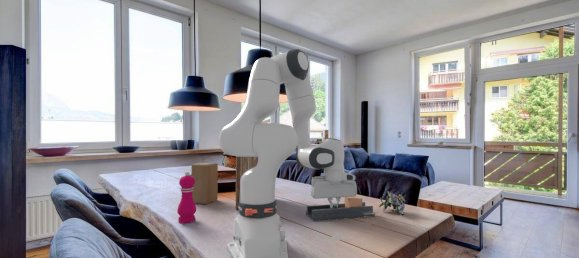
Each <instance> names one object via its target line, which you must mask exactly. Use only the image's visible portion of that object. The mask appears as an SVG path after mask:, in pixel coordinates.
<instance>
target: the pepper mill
mask: <svg viewBox="0 0 579 258" xmlns="http://www.w3.org/2000/svg"><path fill="white" fill-rule="evenodd" d="M178 183H179V186H180V192H181V198H180V202H179V204H178V206H177V215H179V217H178V223H179V224H190V223H194V222H195V221H196V216H195V214H196V213H197V206H196V203H194V200H193V196H192V192H193V191H194V190H193V188H194V187H193V185H194V184H195V179H194V177H192V176H191V175H190V172H189V171H186V172H184V175H183V176H181V177H180V179H179V181H178Z"/></svg>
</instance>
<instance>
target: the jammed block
mask: <svg viewBox="0 0 579 258" xmlns="http://www.w3.org/2000/svg"><path fill="white" fill-rule="evenodd" d="M362 202H363V198H361V197H359V196H357V195H356V196H355V197H344V203H345V208H347V207H360V206H362Z"/></svg>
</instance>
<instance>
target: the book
mask: <svg viewBox="0 0 579 258" xmlns="http://www.w3.org/2000/svg"><path fill="white" fill-rule="evenodd" d="M257 163H258V157H237V156H235V211H237V210H239V208H238V206H239V201H240V180H241V177H242V175H243V174H244V173H245V172H246V171H248V170H249V169H251V168H253V167H256V166H257Z"/></svg>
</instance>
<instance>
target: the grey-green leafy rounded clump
mask: <svg viewBox="0 0 579 258" xmlns="http://www.w3.org/2000/svg"><path fill="white" fill-rule="evenodd" d="M386 193H387V194H388V196H386V198H385V200H384V201H383V200H382V199H383V198H382V197H380V198H379V200H380V202H381V204H379V206H378V207H379V208H381V207H382V206H383V209H382V210H383V211H384V212H385V210H387V208H388V207H389V208H391V207H392V208H393V209H395V210H396V212H397V213H398V215H399V216H402V215H401V214H404V211H405V203H406V202H407V201H406V199H405V198H404V197H403V195H402V194H400V193H399V194H398V195H396V194H394V193H393V192H390V191H387V192H386Z"/></svg>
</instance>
